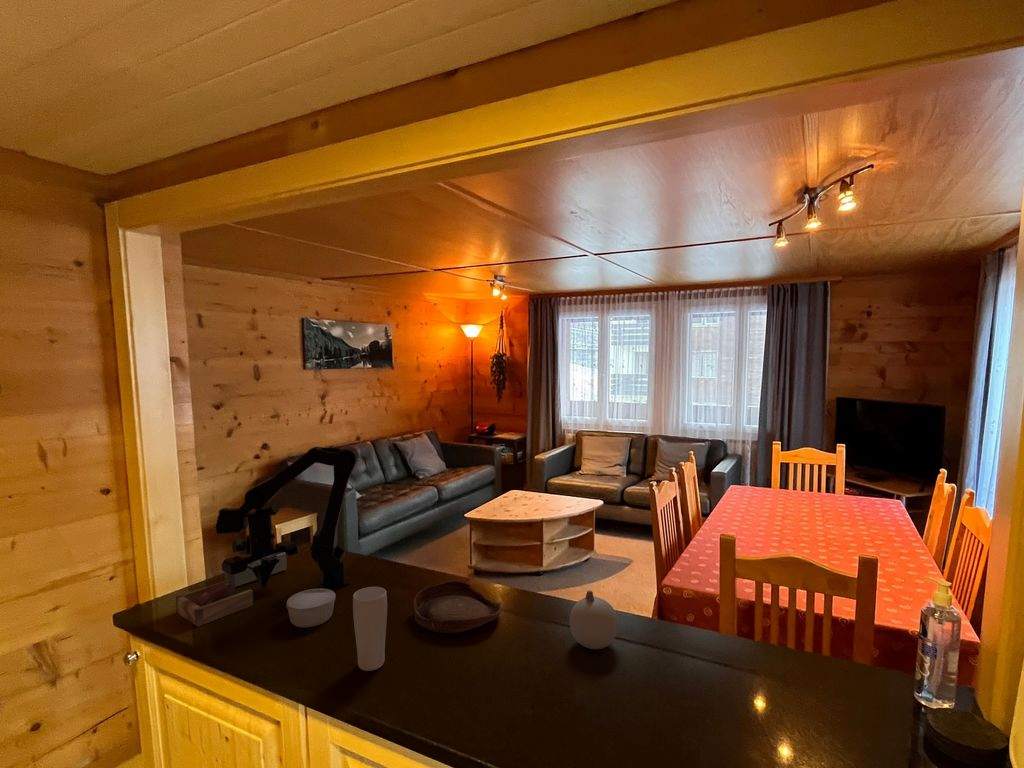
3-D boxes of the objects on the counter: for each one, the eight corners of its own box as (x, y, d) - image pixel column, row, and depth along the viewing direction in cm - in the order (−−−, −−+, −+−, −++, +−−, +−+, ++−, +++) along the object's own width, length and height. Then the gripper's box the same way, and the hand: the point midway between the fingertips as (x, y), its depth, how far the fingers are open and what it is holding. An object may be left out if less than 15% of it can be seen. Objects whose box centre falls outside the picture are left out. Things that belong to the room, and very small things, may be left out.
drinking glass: (394, 658, 107) (393, 588, 107) (376, 677, 101) (374, 603, 100) (367, 653, 110) (365, 584, 109) (347, 671, 103) (345, 598, 103)
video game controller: (197, 623, 127) (205, 600, 125) (186, 612, 128) (194, 589, 127) (233, 605, 136) (240, 584, 134) (222, 595, 137) (229, 574, 136)
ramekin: (336, 605, 132) (335, 585, 132) (335, 625, 122) (335, 604, 121) (289, 612, 129) (288, 591, 128) (284, 634, 118) (283, 611, 118)
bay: (253, 605, 132) (252, 590, 132) (197, 626, 122) (197, 610, 122) (230, 593, 140) (230, 578, 139) (176, 612, 129) (175, 596, 129)
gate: (282, 567, 156) (282, 546, 156) (287, 569, 154) (286, 548, 154) (223, 587, 142) (222, 564, 142) (227, 590, 141) (227, 566, 140)
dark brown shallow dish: (518, 617, 125) (518, 597, 125) (459, 652, 110) (459, 630, 110) (455, 591, 140) (455, 573, 139) (395, 619, 124) (395, 600, 124)
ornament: (560, 646, 111) (560, 592, 111) (587, 628, 119) (587, 577, 118) (600, 664, 104) (600, 607, 104) (626, 644, 112) (626, 590, 111)
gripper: (277, 517, 152) (279, 569, 153) (210, 535, 137) (213, 592, 137) (298, 523, 146) (300, 577, 146) (230, 543, 130) (233, 603, 131)
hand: (262, 587), depth 140 cm, fingers closed
